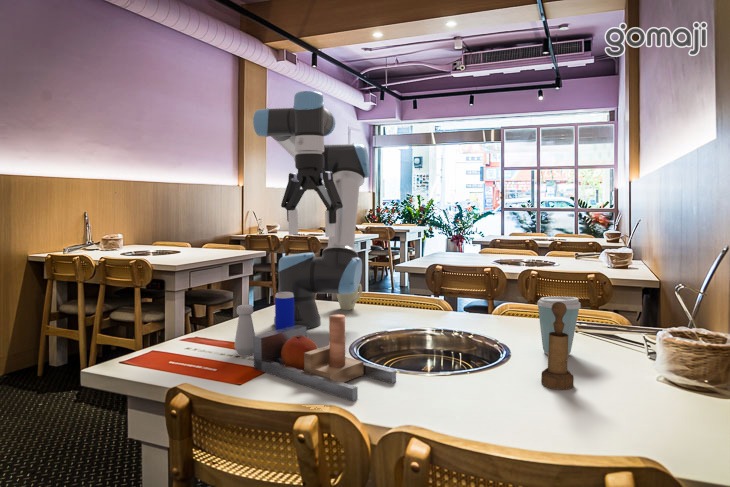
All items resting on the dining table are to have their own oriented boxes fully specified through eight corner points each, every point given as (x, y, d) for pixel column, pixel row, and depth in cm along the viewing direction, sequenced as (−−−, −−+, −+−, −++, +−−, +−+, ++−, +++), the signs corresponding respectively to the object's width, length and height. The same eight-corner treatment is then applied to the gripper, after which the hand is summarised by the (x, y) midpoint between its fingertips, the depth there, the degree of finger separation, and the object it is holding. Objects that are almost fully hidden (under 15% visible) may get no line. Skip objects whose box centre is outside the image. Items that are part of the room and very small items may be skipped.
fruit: (287, 377, 115) (286, 342, 114) (277, 365, 123) (277, 333, 123) (324, 371, 119) (323, 338, 118) (312, 361, 127) (312, 329, 126)
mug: (332, 311, 186) (332, 279, 185) (338, 306, 195) (337, 275, 194) (361, 312, 184) (361, 279, 183) (366, 306, 194) (366, 275, 193)
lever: (337, 367, 120) (337, 309, 119) (363, 374, 115) (363, 313, 114) (304, 379, 112) (303, 317, 111) (330, 387, 107) (329, 322, 106)
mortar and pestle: (570, 392, 105) (572, 306, 104) (538, 386, 108) (539, 303, 107) (575, 382, 111) (578, 301, 109) (545, 377, 114) (546, 298, 113)
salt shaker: (251, 357, 129) (250, 307, 128) (230, 356, 131) (229, 307, 130) (260, 351, 135) (259, 303, 134) (240, 350, 136) (239, 302, 135)
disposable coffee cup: (528, 353, 132) (530, 297, 131) (546, 345, 140) (547, 291, 139) (569, 362, 125) (571, 302, 123) (585, 353, 132) (587, 296, 131)
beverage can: (298, 345, 141) (297, 292, 139) (288, 350, 136) (287, 295, 135) (282, 343, 143) (281, 291, 142) (272, 348, 138) (271, 293, 137)
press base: (298, 354, 132) (298, 324, 131) (396, 381, 112) (396, 346, 111) (253, 368, 121) (253, 335, 120) (352, 401, 101) (352, 361, 100)
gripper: (266, 155, 136) (268, 234, 138) (335, 149, 120) (336, 238, 122) (287, 156, 141) (289, 232, 143) (355, 151, 126) (356, 236, 128)
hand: (311, 235), depth 133 cm, fingers open, 13 cm apart
